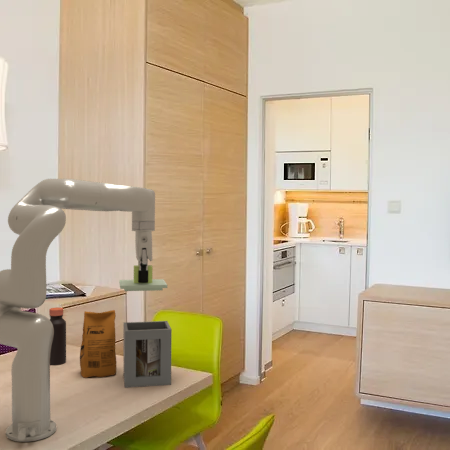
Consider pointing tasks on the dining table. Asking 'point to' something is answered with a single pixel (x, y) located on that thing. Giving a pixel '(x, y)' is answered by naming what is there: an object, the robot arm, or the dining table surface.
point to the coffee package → (98, 344)
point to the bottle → (58, 337)
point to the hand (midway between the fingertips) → (142, 281)
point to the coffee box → (147, 357)
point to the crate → (132, 334)
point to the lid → (136, 286)
